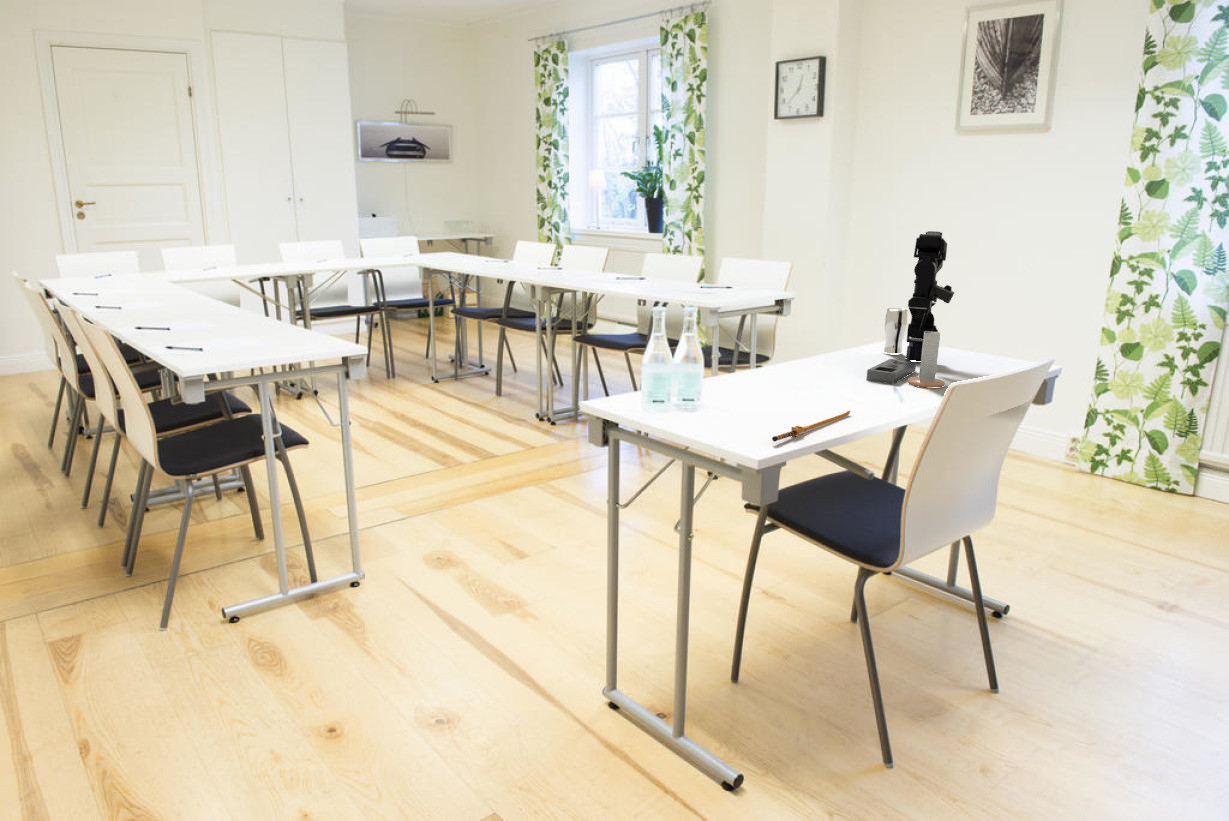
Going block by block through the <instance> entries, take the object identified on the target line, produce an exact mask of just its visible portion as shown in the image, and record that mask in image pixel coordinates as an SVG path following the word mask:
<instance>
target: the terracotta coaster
mask: <svg viewBox="0 0 1229 821" xmlns="http://www.w3.org/2000/svg"><path fill="white" fill-rule="evenodd" d="M907 383H909V384H908V385H910V384H911V385H910V386H912V385H914V386H913V387H916V386H919V387H918V388H921V387H942V386H944V385H946V382H945V381H944V380H942V379H938V378H935V382H934V383H928V382H920V381H919V376H915V377H914V376H913V377H909V378H908V379H907ZM944 387H945V386H944Z"/></svg>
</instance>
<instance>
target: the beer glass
mask: <svg viewBox="0 0 1229 821" xmlns="http://www.w3.org/2000/svg"><path fill="white" fill-rule="evenodd" d="M908 310H909V309H906V308H899V307H898V308H897V307H889V308H887V309H886V314H885V319H884V320H885V321H884V335H885V343H884V349H883V351H884V352H887V353H901V352H902V353H903V350H902V346H903V345H902V344H903V339H904V336H905V332H906V329H907V325H908Z"/></svg>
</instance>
